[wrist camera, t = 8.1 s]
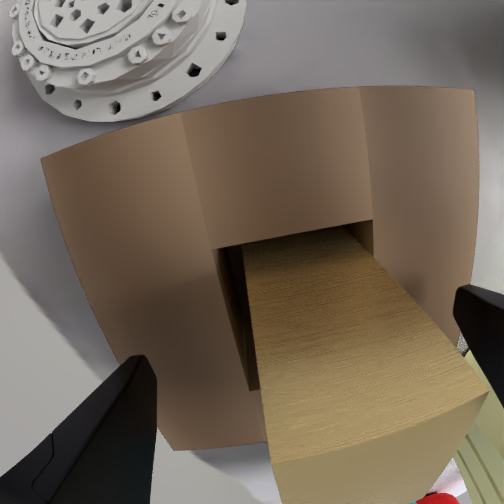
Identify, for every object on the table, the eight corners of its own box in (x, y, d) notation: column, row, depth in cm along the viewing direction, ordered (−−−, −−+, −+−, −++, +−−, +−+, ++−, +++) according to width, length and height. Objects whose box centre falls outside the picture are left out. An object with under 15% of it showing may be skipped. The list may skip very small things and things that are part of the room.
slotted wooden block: (385, 94, 12) (474, 89, 6) (393, 319, 17) (443, 391, 11) (114, 140, 12) (40, 158, 7) (184, 361, 17) (173, 450, 11)
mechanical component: (8, 49, 10) (125, 168, 13) (-47, 40, 6) (84, 189, 9) (149, -89, 7) (293, 15, 11) (130, -135, 3) (319, -25, 7)
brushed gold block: (314, 199, 12) (490, 390, 3) (321, 288, 14) (423, 497, 5) (237, 212, 12) (270, 464, 3) (254, 301, 14) (292, 536, 5)
